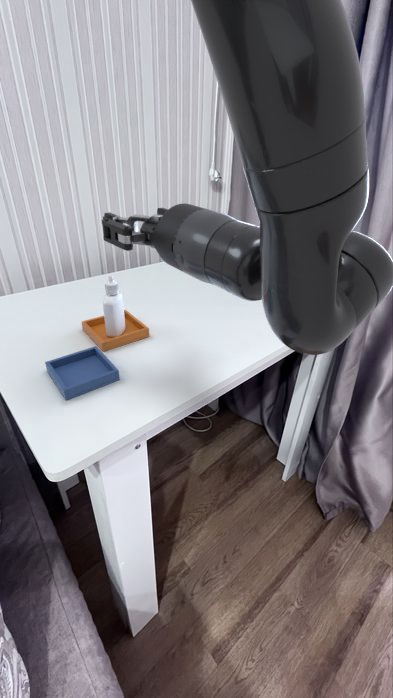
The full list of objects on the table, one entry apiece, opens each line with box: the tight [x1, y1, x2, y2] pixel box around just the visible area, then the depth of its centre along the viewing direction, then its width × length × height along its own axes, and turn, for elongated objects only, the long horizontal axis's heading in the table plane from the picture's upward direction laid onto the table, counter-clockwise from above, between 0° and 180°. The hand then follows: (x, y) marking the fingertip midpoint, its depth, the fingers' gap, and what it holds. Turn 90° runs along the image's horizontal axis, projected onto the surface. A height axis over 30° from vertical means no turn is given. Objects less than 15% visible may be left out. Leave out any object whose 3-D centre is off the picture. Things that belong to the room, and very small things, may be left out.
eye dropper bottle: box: [102, 274, 125, 337], centre depth 66 cm, size 4×6×12 cm
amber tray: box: [81, 309, 150, 353], centre depth 69 cm, size 10×10×2 cm
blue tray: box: [44, 345, 121, 401], centre depth 56 cm, size 9×9×2 cm
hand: (134, 217), depth 48 cm, fingers open, 8 cm apart
